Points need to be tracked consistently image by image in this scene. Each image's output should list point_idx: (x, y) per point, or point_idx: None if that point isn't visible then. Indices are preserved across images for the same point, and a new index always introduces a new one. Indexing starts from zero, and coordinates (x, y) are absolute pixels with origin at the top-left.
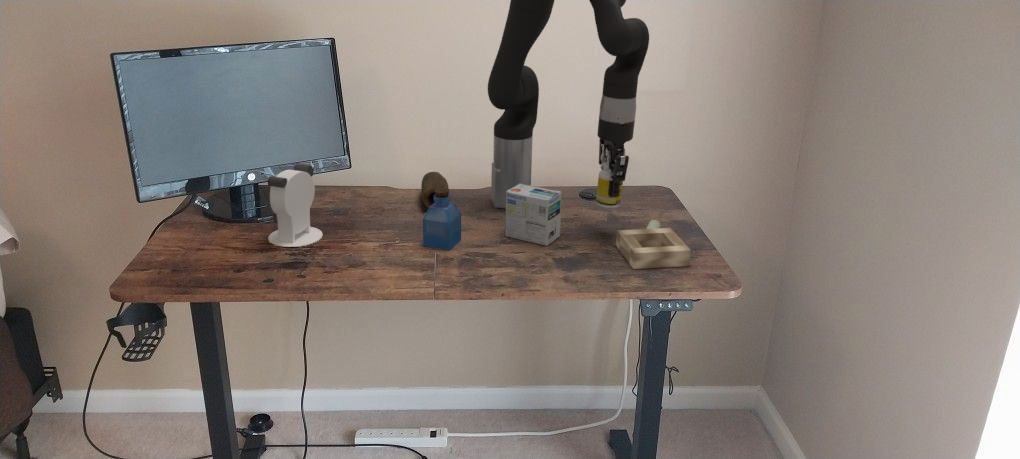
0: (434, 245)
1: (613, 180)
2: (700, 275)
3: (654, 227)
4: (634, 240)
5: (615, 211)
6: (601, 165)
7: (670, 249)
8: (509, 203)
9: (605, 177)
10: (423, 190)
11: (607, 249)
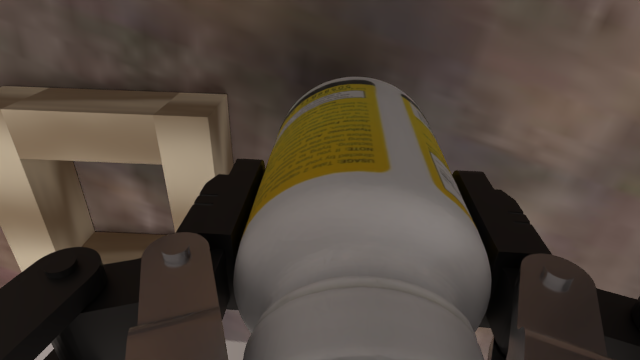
0: None
1: (60, 254)
2: (6, 262)
3: None
4: (92, 152)
5: (565, 204)
6: (576, 291)
7: (25, 244)
8: None
9: (266, 217)
10: None
11: (186, 45)
